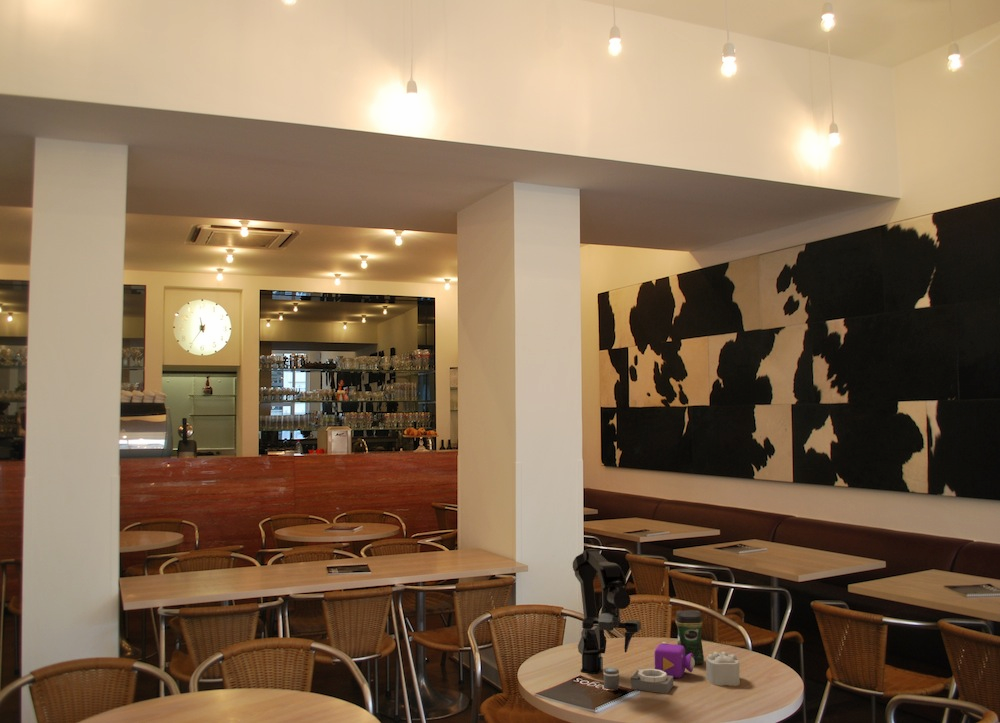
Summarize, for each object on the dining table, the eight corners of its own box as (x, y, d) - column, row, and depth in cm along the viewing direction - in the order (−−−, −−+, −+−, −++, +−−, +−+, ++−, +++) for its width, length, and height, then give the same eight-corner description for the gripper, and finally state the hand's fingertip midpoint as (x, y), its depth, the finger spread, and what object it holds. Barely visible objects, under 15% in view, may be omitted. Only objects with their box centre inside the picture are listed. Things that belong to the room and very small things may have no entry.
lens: (601, 690, 274) (601, 671, 274) (606, 685, 278) (606, 666, 279) (617, 692, 271) (616, 673, 272) (621, 687, 276) (621, 668, 276)
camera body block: (631, 688, 275) (630, 674, 275) (638, 680, 283) (638, 667, 283) (667, 693, 270) (666, 679, 270) (673, 685, 278) (673, 671, 278)
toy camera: (695, 680, 283) (694, 650, 283) (654, 678, 285) (654, 648, 286) (694, 670, 293) (694, 642, 294) (655, 668, 296) (654, 640, 296)
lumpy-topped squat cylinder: (710, 685, 277) (710, 659, 278) (703, 673, 290) (702, 648, 291) (742, 686, 277) (741, 659, 277) (733, 673, 290) (732, 648, 290)
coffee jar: (701, 659, 307) (699, 608, 308) (705, 665, 299) (704, 613, 300) (674, 659, 307) (673, 608, 308) (678, 665, 299) (677, 613, 300)
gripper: (576, 605, 273) (577, 654, 272) (632, 609, 266) (633, 659, 265) (586, 599, 283) (587, 646, 282) (640, 603, 276) (642, 651, 275)
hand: (612, 651), depth 276 cm, fingers open, 9 cm apart
